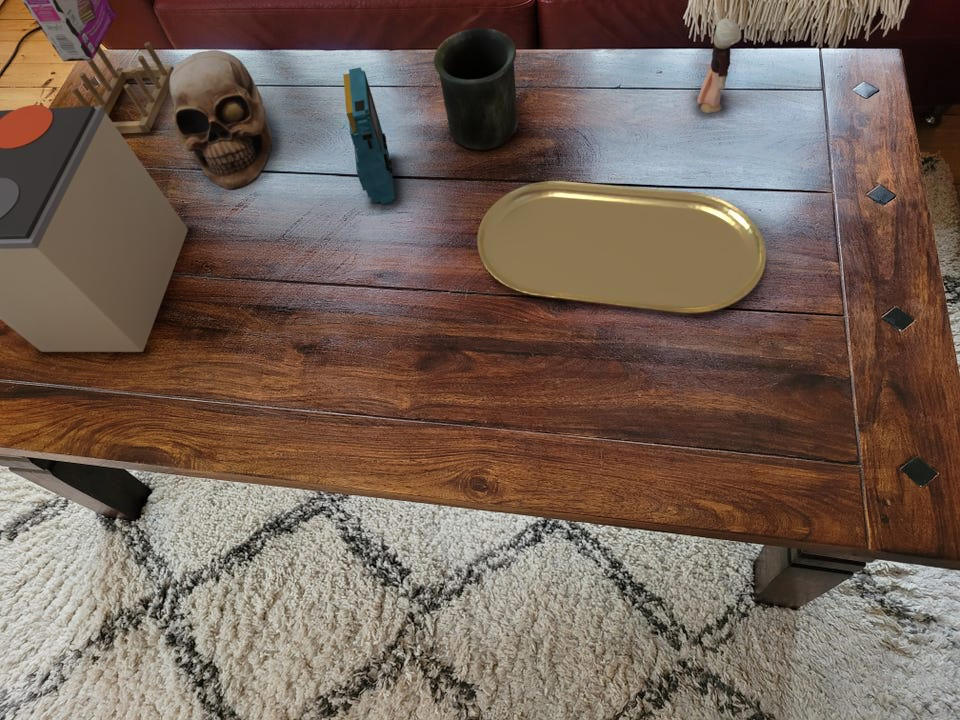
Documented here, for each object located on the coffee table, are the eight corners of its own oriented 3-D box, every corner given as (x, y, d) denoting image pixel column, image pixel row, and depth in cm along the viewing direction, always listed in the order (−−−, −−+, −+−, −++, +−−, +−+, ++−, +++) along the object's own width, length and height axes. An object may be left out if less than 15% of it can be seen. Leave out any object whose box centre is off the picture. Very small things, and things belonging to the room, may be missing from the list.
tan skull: (235, 195, 98) (187, 114, 87) (167, 161, 106) (116, 83, 95) (312, 133, 104) (276, 49, 93) (243, 105, 112) (202, 26, 101)
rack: (92, 134, 109) (64, 98, 103) (122, 75, 116) (98, 38, 110) (149, 132, 107) (125, 95, 101) (176, 72, 115) (154, 34, 109)
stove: (41, 352, 87) (-99, 241, 69) (96, 231, 97) (-14, 107, 79) (143, 352, 85) (27, 238, 67) (188, 229, 96) (98, 101, 77)
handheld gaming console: (398, 204, 94) (371, 115, 81) (369, 210, 94) (337, 121, 81) (392, 155, 99) (366, 64, 86) (364, 160, 99) (334, 70, 86)
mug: (442, 154, 98) (427, 82, 87) (455, 87, 105) (443, 13, 95) (517, 154, 96) (511, 81, 86) (526, 86, 103) (521, 11, 93)
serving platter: (761, 330, 77) (764, 322, 76) (463, 293, 85) (461, 286, 83) (764, 207, 86) (768, 198, 85) (495, 183, 94) (494, 175, 92)
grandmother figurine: (690, 89, 99) (705, 6, 88) (717, 85, 99) (735, 1, 88) (702, 125, 95) (719, 42, 84) (730, 121, 95) (751, 38, 84)
